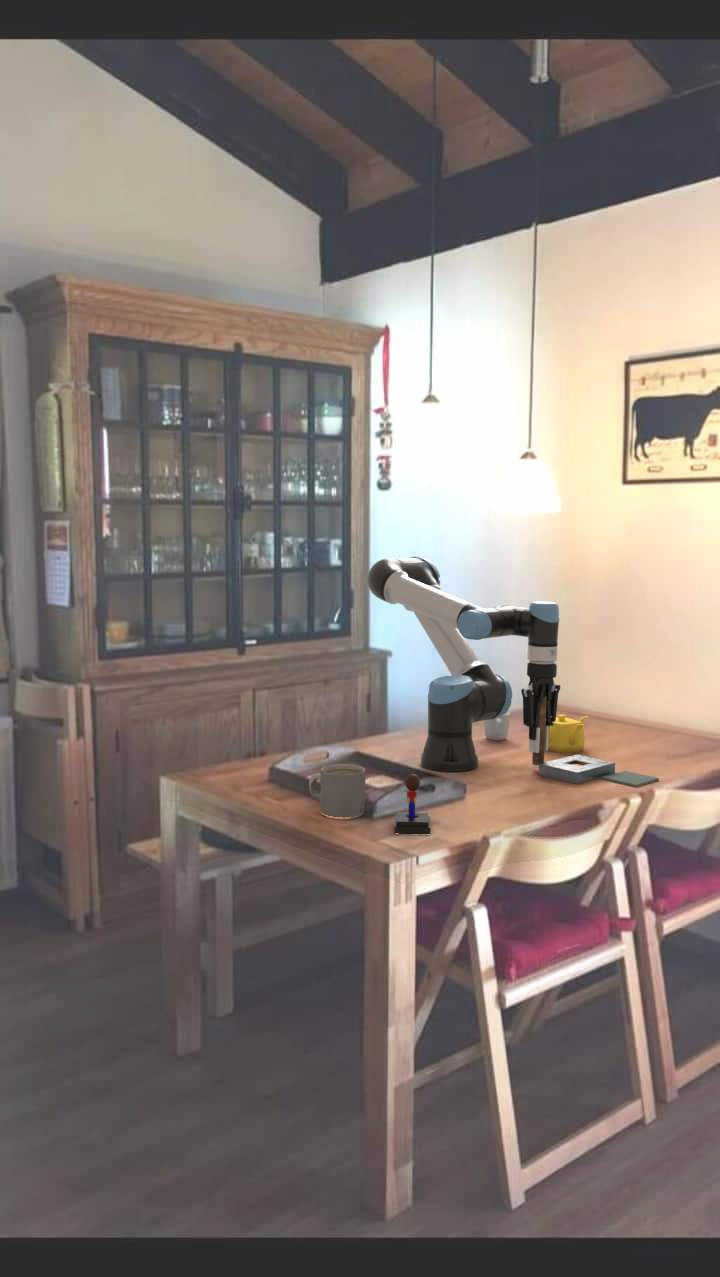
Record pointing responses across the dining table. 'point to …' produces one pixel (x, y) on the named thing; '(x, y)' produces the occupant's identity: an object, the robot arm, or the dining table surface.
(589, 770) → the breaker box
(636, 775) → the coaster
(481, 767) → the dining table surface
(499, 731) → the cup
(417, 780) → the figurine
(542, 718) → the brown wooden block
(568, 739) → the teapot
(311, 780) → the coffee mug
